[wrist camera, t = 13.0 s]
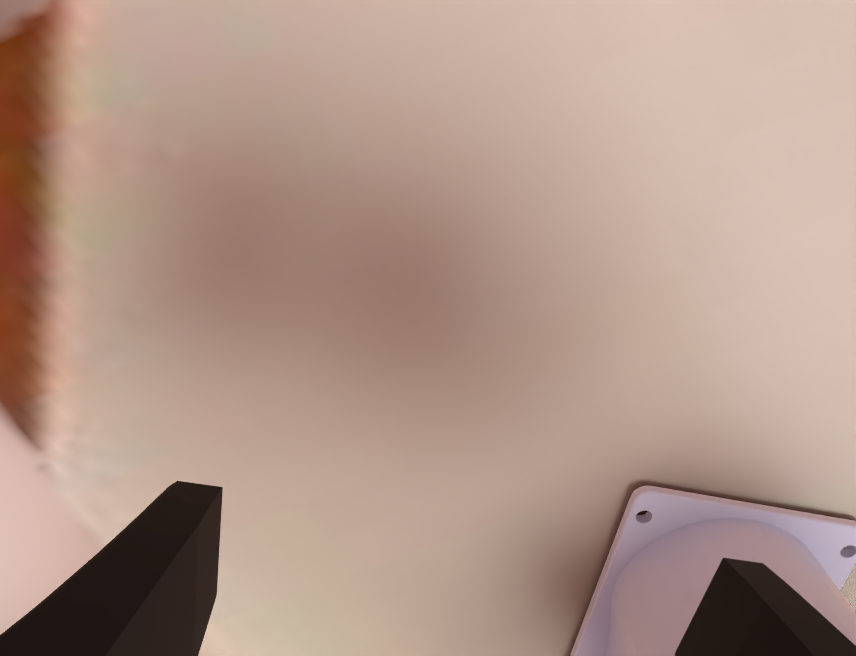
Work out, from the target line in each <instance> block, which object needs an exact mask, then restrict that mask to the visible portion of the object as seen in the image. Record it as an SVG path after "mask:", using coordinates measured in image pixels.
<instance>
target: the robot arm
mask: <svg viewBox="0 0 856 656" xmlns="http://www.w3.org/2000/svg"><path fill="white" fill-rule="evenodd" d="M222 488H223V487H217V486H210V485H203V484H195V483H188V482H181V481H177V482H175V483H174V484H172V485H170V486H169V487H168V488H167V489H166V490H165V491H164V492H163V493H162V494H161V495H160V496H158V497H157V498H156V499H155V500H154V501H153V502H152V503H151V504H150V505H149V506H148V507H147V508H146V509H145V510H144V511H143V512H142V513H141V514H140V515H139V516H138V517H137V518H135V519H134V520H133V521H132V522H131V523H130V524H129V525H128V526H127V527H126V528H125V529H124V530H123V531H122V532H120V533H119V534H118V535H117V536H116V537H115V538H114V539H113V540H112V541H111V542H109V543H108V544H107V545H106V546H105V547H104V548H103V549H102V550H101V551H100V552H99V553H97V554H96V555H95V556H94V557H93V558H92V559H91V560H89V561H88V562H87V563H86V564H85V565H84V566H83V567H81V568H80V569H79V570H78V571H77V572H76V573H74V574H73V575H72V576H71V577H70V578H69V579H68V580H66V581H65V582H64V583H63V584H62V585H61V586H60V587H58V588H57V589H56V590H55V591H54V592H53V593H51V594H50V595H49V596H48V597H47V598H46V599H44V600H43V601H42V602H41V603H40V604H38V605H37V606H36V607H35V608H34V609H33V610H31V611H30V612H29V613H28V614H26V615H25V616H24V617H23V618H21V619H20V620H19V621H17V622H16V623H15V624H14V625H12V626H11V627H10V628H9V629H7V630H6V631H5V632H4V633H2V634H1V635H0V656H198V654H199V650H200V647H201V644H202V641H203V638H204V635H205V631H206V628H207V625H208V622H209V618H210V615H211V612H212V608H213V605H214V602H215V599H216V595H217V577H218V560H219V542H220V524H221V506H222ZM645 510H647V513H646V514H644V515H637V514H638V512H640V511H645ZM846 546H847V547H846ZM843 547H846V548H844V549H843ZM855 564H856V521H854V520H848V519H842V518H836V517H830V516H824V515H819V514H813V513H807V512H801V511H795V510H789V509H784V508H778V507H772V506H766V505H760V504H755V503H749V502H743V501H737V500H731V499H725V498H720V497H714V496H708V495H702V494H696V493H690V492H685V491H679V490H673V489H667V488H661V487H655V486H642V487H639V488H637V489H636V490H634V491H633V493H632V495H631V497H630V499H629V502H628V504H627V507H626V510H625V512H624V515H623V518H622V520H621V523H620V525H619V528H618V531H617V533H616V536H615V539H614V541H613V544H612V546H611V549H610V552H609V554H608V557H607V560H606V562H605V565H604V568H603V570H602V573H601V575H600V578H599V581H598V583H597V586H596V589H595V591H594V594H593V596H592V599H591V602H590V604H589V607H588V610H587V612H586V615H585V617H584V620H583V623H582V625H581V628H580V631H579V633H578V636H577V639H576V641H575V644H574V646H573V649H572V652H571V654H570V656H856V612H855V611H854V609H853V608H852V606H851V605H850V604H849V602H848V601H847V600H846V598H845V597H844V596H843V594H842V593H841V592H840V590H841V588H842V587H843V585H844V583H845V581H846V580H847V578H848V576H849V575H850V573H851V571H852V569H853V568H854V566H855Z"/></svg>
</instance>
